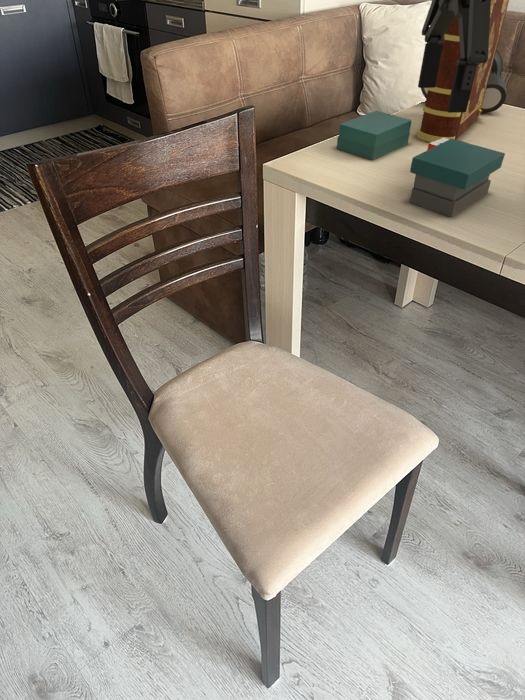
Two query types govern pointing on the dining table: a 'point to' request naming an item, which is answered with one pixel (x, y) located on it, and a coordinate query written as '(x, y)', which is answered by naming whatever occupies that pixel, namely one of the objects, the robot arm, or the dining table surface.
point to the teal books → (373, 134)
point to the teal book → (457, 163)
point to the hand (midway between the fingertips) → (440, 99)
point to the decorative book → (435, 108)
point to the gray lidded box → (446, 195)
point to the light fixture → (491, 87)
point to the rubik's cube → (436, 143)
